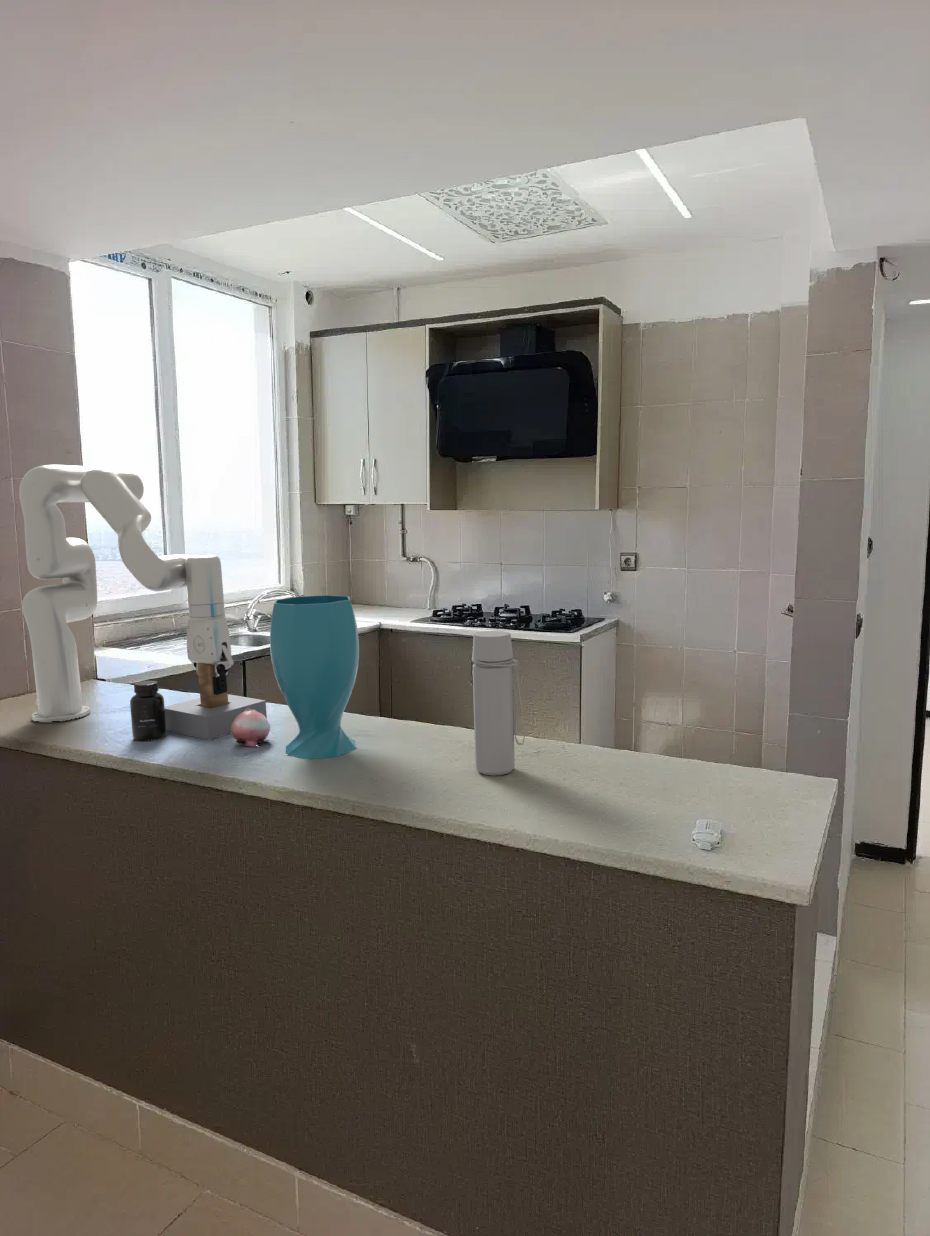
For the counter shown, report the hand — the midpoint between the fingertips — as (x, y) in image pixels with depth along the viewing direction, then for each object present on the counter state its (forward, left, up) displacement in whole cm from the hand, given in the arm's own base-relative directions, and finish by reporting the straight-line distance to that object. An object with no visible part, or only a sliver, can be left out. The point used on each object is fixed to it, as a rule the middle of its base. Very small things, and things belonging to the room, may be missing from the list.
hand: (213, 691), depth 180 cm
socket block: (0, 0, -8) cm, 8 cm away
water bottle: (+72, +6, -8) cm, 73 cm away
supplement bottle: (-6, -13, -8) cm, 16 cm away
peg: (0, 0, -3) cm, 3 cm away
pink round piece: (+18, -5, -8) cm, 20 cm away
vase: (+33, 0, -8) cm, 34 cm away
